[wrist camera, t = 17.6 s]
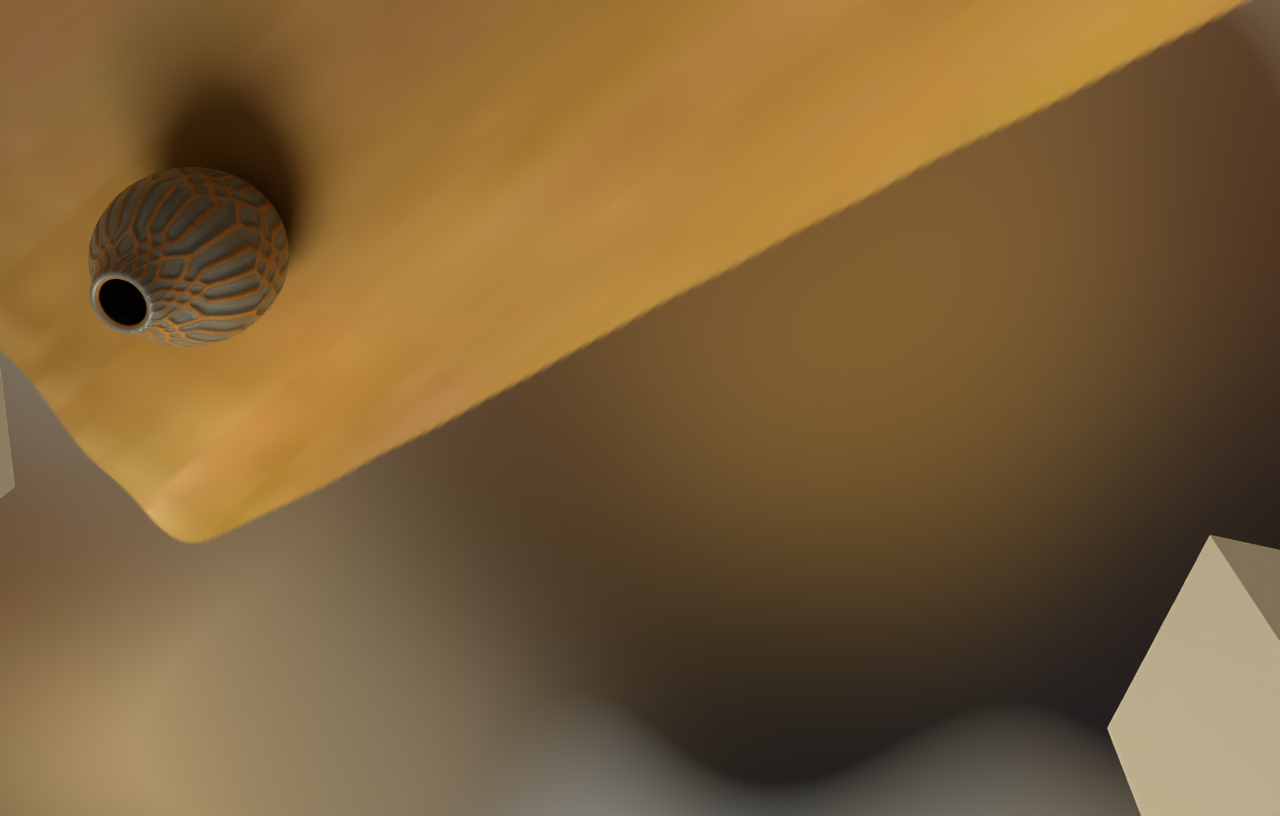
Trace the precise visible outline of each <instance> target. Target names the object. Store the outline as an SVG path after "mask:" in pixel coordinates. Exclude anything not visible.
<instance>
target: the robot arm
mask: <svg viewBox="0 0 1280 816" xmlns="http://www.w3.org/2000/svg"><path fill="white" fill-rule="evenodd" d="M14 487H15V483H14V475H13V467H12V459H11V451H10V443H9V435H8V426H7V418H6V409H5V401H4V394H3V385H2V377H1V368H0V498H1V497H2V496H4V495H5V494H6V493H7V492H9V491H10V490H11V489H12V488H14ZM1108 731H1109V734H1110V736H1111V739H1112V742H1113V744H1114V747H1115V749H1116V752H1117V755H1118V757H1119V760H1120V762H1121V765H1122V767H1123V770H1124V773H1125V775H1126V778H1127V780H1128V783H1129V786H1130V788H1131V791H1132V793H1133V796H1134V798H1135V801H1136V804H1137V806H1138V809H1139V811H1140V814H1141V816H1280V550H1277V549H1272V548H1267V547H1262V546H1258V545H1253V544H1248V543H1244V542H1239V541H1235V540H1230V539H1226V538H1221V537H1217V536H1212V535H1210V536H1209V538H1208V540H1207V542H1206V543H1205V545H1204V547H1203V549H1202V551H1201V553H1200V555H1199V557H1198V559H1197V561H1196V562H1195V564H1194V566H1193V568H1192V570H1191V572H1190V574H1189V576H1188V577H1187V579H1186V581H1185V583H1184V585H1183V587H1182V589H1181V591H1180V593H1179V595H1178V596H1177V598H1176V600H1175V602H1174V604H1173V606H1172V607H1171V610H1170V611H1169V613H1168V615H1167V617H1166V619H1165V621H1164V623H1163V624H1162V626H1161V628H1160V630H1159V632H1158V634H1157V636H1156V638H1155V640H1154V641H1153V643H1152V645H1151V647H1150V649H1149V651H1148V653H1147V655H1146V657H1145V658H1144V660H1143V662H1142V664H1141V666H1140V668H1139V670H1138V672H1137V674H1136V675H1135V677H1134V679H1133V681H1132V683H1131V685H1130V687H1129V688H1128V690H1127V692H1126V694H1125V696H1124V698H1123V700H1122V702H1121V703H1120V705H1119V707H1118V709H1117V711H1116V713H1115V715H1114V717H1113V719H1112V720H1111V722H1110V724H1109V726H1108Z"/></svg>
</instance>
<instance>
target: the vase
mask: <svg viewBox="0 0 1280 816" xmlns="http://www.w3.org/2000/svg"><path fill="white" fill-rule="evenodd" d="M288 264H289V244H288V238H287V234H286V230H285V228H284V225H283V222H282V220H281V218H280V216H279V215H278V213H277V211H276V210H275V208H274V207H273V205H272V204H271V203H270V202H269V200H268V199H267V198H266V197H265V196H264V195H263V194H262V193H261V192H260V191H259V190H258V189H256V188H255V187H254V186H252V185H251V184H250V183H248V182H246V181H245V180H243V179H241V178H239V177H237V176H235V175H232V174H230V173H227V172H224V171H221V170H217V169H212V168H204V167H179V168H172V169H168V170H164V171H161V172H158V173H155V174H152V175H150V176H147V177H145V178H143V179H141V180H139V181H137V182H135V183H134V184H132V185H130V186H129V187H127V188H126V189H125V190H124V191H122V192H121V193H120V194H119V195H118V196H117V197H116V198H115V199H114V200H113V201H112V202H111V203H110V204H109V206H108V207H107V208H106V209H105V211H104V212H103V214H102V215H101V217H100V219H99V221H98V222H97V224H96V227H95V229H94V231H93V234H92V237H91V241H90V246H89V270H90V276H91V280H92V284H91V288H90V300H91V304H92V306H93V309H94V311H95V312H96V314H97V315H98V317H99V318H100V319H101V320H102V321H103V322H104V323H105V324H106V325H108V326H109V327H111V328H112V329H114V330H117V331H119V332H122V333H128V334H136V335H138V336H140V337H142V338H144V339H146V340H149V341H152V342H155V343H158V344H162V345H167V346H173V347H196V346H203V345H208V344H213V343H217V342H220V341H223V340H226V339H228V338H231V337H233V336H235V335H237V334H239V333H241V332H242V331H244V330H245V329H247V328H248V327H250V326H251V325H252V324H254V323H255V322H256V321H257V320H258V319H259V318H260V317H261V316H262V315H264V313H265V312H266V311H267V310H268V309H269V308H270V307H271V305H272V304H273V303H274V301H275V300H276V298H277V297H278V295H279V293H280V291H281V288H282V286H283V284H284V281H285V278H286V274H287V270H288Z"/></svg>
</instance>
